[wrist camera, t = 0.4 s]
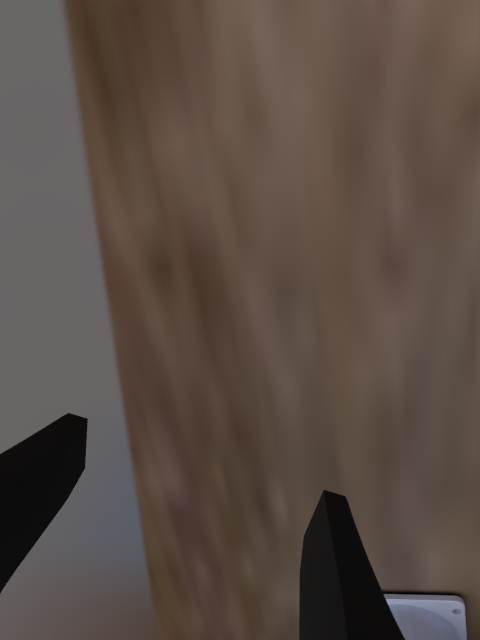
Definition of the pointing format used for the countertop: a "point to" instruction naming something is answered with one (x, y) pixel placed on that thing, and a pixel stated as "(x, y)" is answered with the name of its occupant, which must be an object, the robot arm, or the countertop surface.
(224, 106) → the countertop surface
